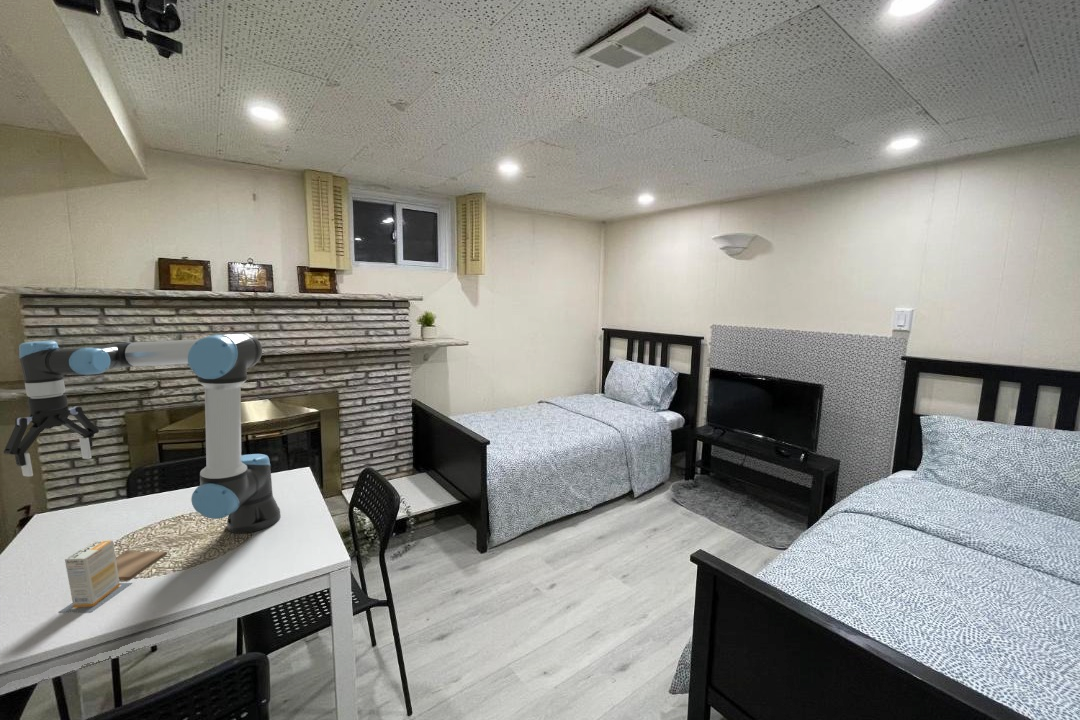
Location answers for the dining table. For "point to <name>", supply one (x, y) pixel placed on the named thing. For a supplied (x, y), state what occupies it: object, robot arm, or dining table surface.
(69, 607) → the blue gray tile
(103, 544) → the supplement box
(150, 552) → the coaster
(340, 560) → the dining table surface
